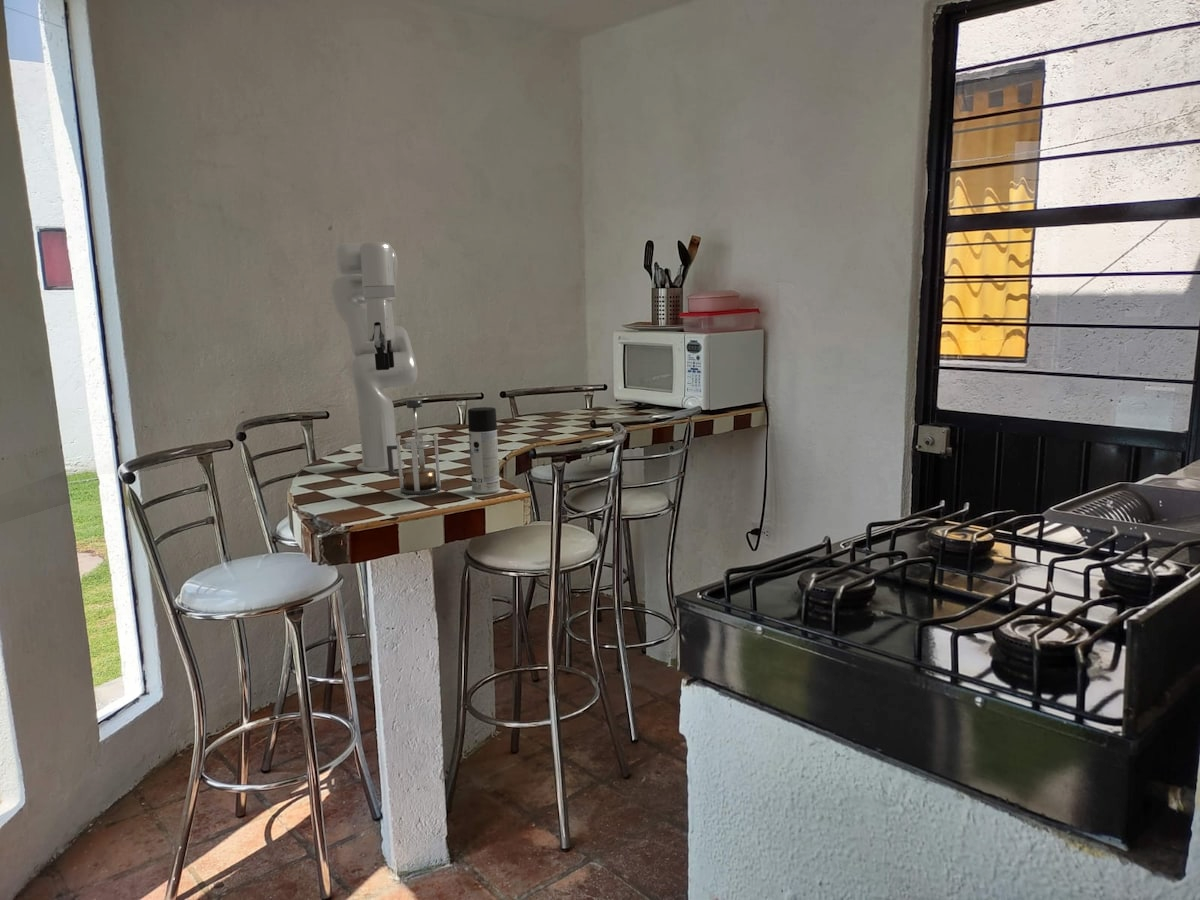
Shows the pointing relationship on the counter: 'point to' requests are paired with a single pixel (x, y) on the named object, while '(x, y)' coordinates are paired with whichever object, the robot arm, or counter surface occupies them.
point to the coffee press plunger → (423, 444)
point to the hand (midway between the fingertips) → (385, 368)
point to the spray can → (483, 450)
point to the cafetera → (415, 469)
